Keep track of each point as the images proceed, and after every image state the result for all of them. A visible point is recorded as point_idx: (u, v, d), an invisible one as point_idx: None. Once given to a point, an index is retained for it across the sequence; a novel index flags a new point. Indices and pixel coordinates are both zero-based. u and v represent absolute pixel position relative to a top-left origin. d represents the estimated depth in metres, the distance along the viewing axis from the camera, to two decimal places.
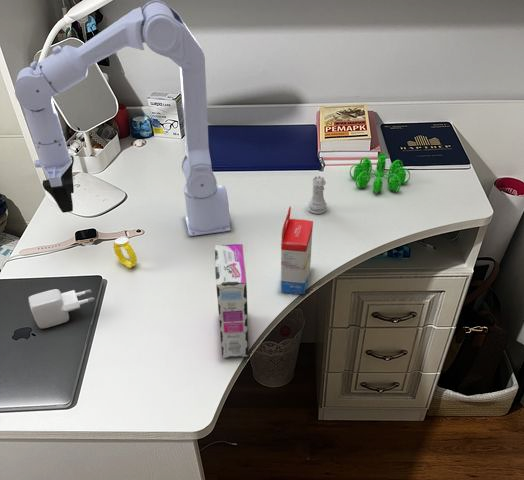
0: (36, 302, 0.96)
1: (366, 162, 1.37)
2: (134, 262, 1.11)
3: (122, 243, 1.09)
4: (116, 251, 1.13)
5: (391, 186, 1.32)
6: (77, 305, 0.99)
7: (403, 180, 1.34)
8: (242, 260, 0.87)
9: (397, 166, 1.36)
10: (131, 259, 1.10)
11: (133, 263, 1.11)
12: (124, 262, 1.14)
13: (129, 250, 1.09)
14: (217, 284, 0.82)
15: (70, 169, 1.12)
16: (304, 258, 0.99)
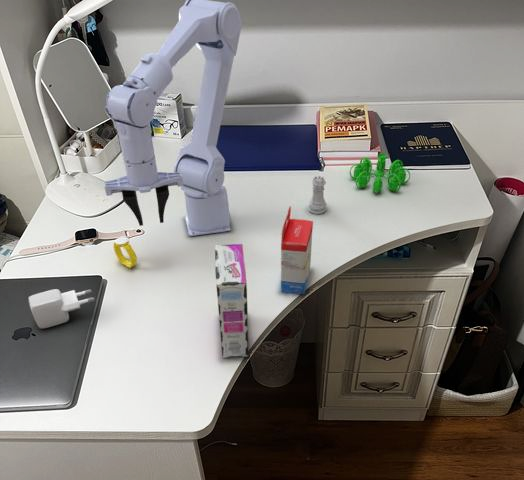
0: (36, 302, 0.96)
1: (366, 162, 1.37)
2: (134, 262, 1.11)
3: (122, 243, 1.09)
4: (116, 251, 1.13)
5: (391, 186, 1.32)
6: (77, 305, 0.99)
7: (403, 180, 1.34)
8: (242, 260, 0.87)
9: (397, 166, 1.36)
10: (131, 259, 1.10)
11: (133, 263, 1.11)
12: (124, 262, 1.14)
13: (129, 250, 1.09)
14: (217, 284, 0.82)
15: (136, 195, 1.05)
16: (304, 258, 0.99)
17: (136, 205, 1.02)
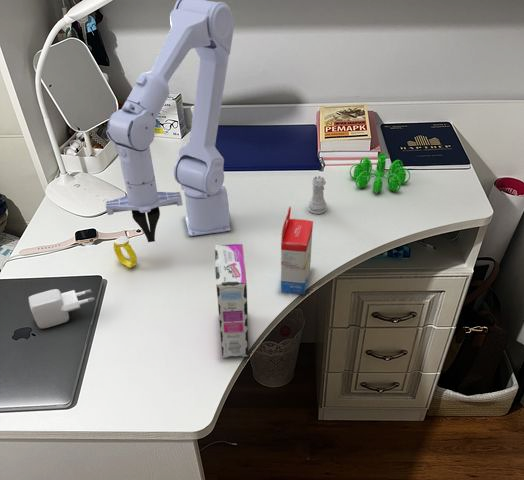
0: (36, 302, 0.96)
1: (366, 162, 1.37)
2: (134, 262, 1.11)
3: (122, 243, 1.09)
4: (116, 251, 1.13)
5: (391, 186, 1.32)
6: (77, 305, 0.99)
7: (403, 180, 1.34)
8: (242, 260, 0.87)
9: (397, 166, 1.36)
10: (131, 259, 1.10)
11: (133, 263, 1.11)
12: (124, 262, 1.14)
13: (129, 250, 1.09)
14: (217, 284, 0.82)
15: None
16: (304, 258, 0.99)
17: (145, 223, 1.05)
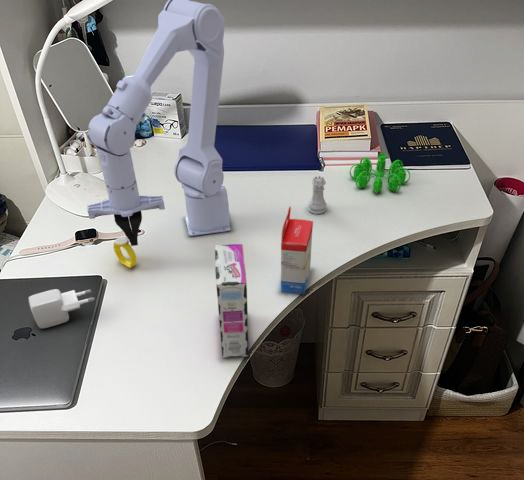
0: (36, 302, 0.96)
1: (366, 162, 1.37)
2: (134, 262, 1.11)
3: (122, 243, 1.09)
4: (116, 251, 1.13)
5: (391, 186, 1.32)
6: (77, 305, 0.99)
7: (403, 180, 1.34)
8: (242, 260, 0.87)
9: (397, 166, 1.36)
10: (131, 259, 1.10)
11: (133, 263, 1.11)
12: (124, 262, 1.14)
13: (129, 250, 1.09)
14: (217, 284, 0.82)
15: None
16: (304, 258, 0.99)
17: (128, 227, 1.05)
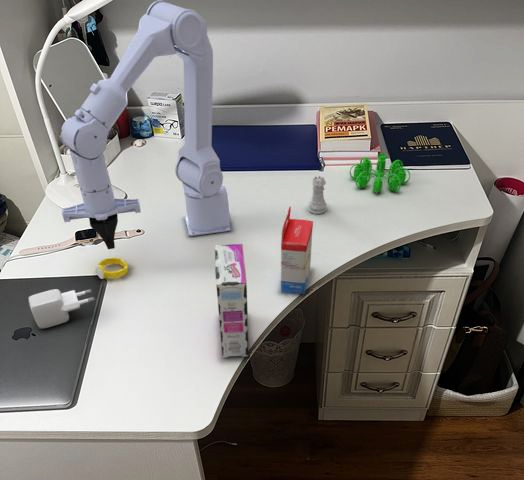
0: (36, 302, 0.96)
1: (366, 162, 1.37)
2: (124, 271, 1.10)
3: (102, 276, 1.09)
4: (107, 263, 1.13)
5: (391, 186, 1.32)
6: (77, 305, 0.99)
7: (403, 180, 1.34)
8: (242, 260, 0.87)
9: (397, 166, 1.36)
10: (120, 275, 1.10)
11: (125, 272, 1.10)
12: (121, 263, 1.13)
13: (111, 275, 1.09)
14: (217, 284, 0.82)
15: (104, 219, 1.07)
16: (304, 258, 0.99)
17: (103, 230, 1.04)
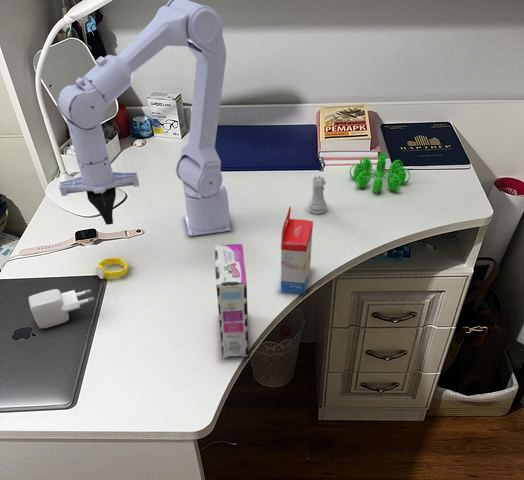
0: (36, 302, 0.96)
1: (366, 162, 1.37)
2: (124, 271, 1.10)
3: (102, 276, 1.09)
4: (107, 263, 1.13)
5: (391, 186, 1.32)
6: (77, 305, 0.99)
7: (403, 180, 1.34)
8: (242, 260, 0.87)
9: (397, 166, 1.36)
10: (120, 275, 1.10)
11: (125, 272, 1.10)
12: (121, 263, 1.13)
13: (111, 275, 1.09)
14: (217, 284, 0.82)
15: (102, 194, 1.05)
16: (304, 258, 0.99)
17: (101, 204, 1.03)
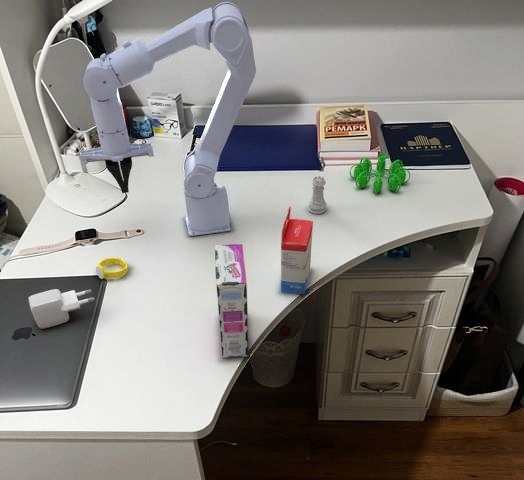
0: (36, 302, 0.96)
1: (366, 162, 1.37)
2: (124, 271, 1.10)
3: (102, 276, 1.09)
4: (107, 263, 1.13)
5: (391, 186, 1.32)
6: (77, 305, 0.99)
7: (403, 180, 1.34)
8: (242, 260, 0.87)
9: (397, 166, 1.36)
10: (120, 275, 1.10)
11: (125, 272, 1.10)
12: (121, 263, 1.13)
13: (111, 275, 1.09)
14: (217, 284, 0.82)
15: None
16: (304, 258, 0.99)
17: (118, 173, 1.11)
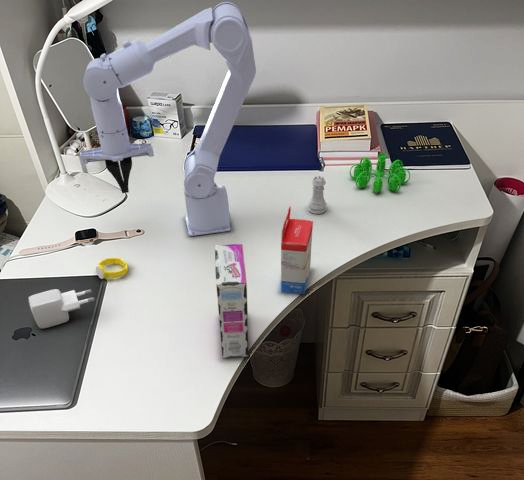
0: (36, 302, 0.96)
1: (366, 162, 1.37)
2: (124, 271, 1.10)
3: (102, 276, 1.09)
4: (107, 263, 1.13)
5: (391, 186, 1.32)
6: (77, 305, 0.99)
7: (403, 180, 1.34)
8: (242, 260, 0.87)
9: (397, 166, 1.36)
10: (120, 275, 1.10)
11: (125, 272, 1.10)
12: (121, 263, 1.13)
13: (111, 275, 1.09)
14: (217, 284, 0.82)
15: None
16: (304, 258, 0.99)
17: (118, 173, 1.11)
